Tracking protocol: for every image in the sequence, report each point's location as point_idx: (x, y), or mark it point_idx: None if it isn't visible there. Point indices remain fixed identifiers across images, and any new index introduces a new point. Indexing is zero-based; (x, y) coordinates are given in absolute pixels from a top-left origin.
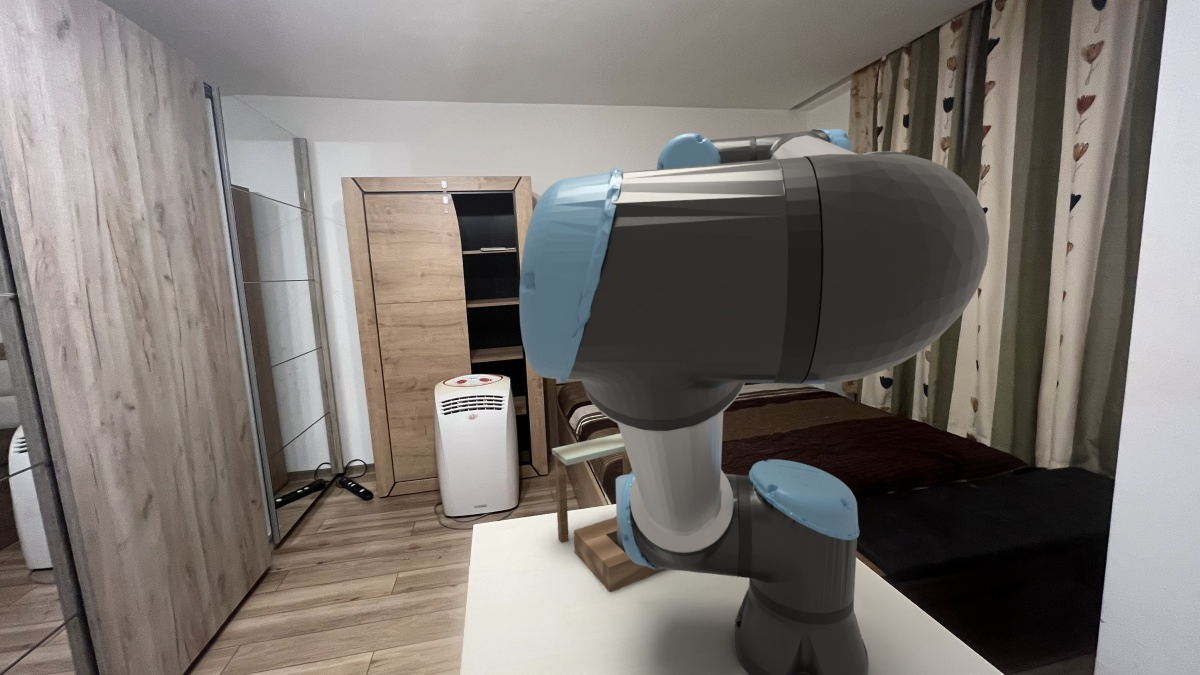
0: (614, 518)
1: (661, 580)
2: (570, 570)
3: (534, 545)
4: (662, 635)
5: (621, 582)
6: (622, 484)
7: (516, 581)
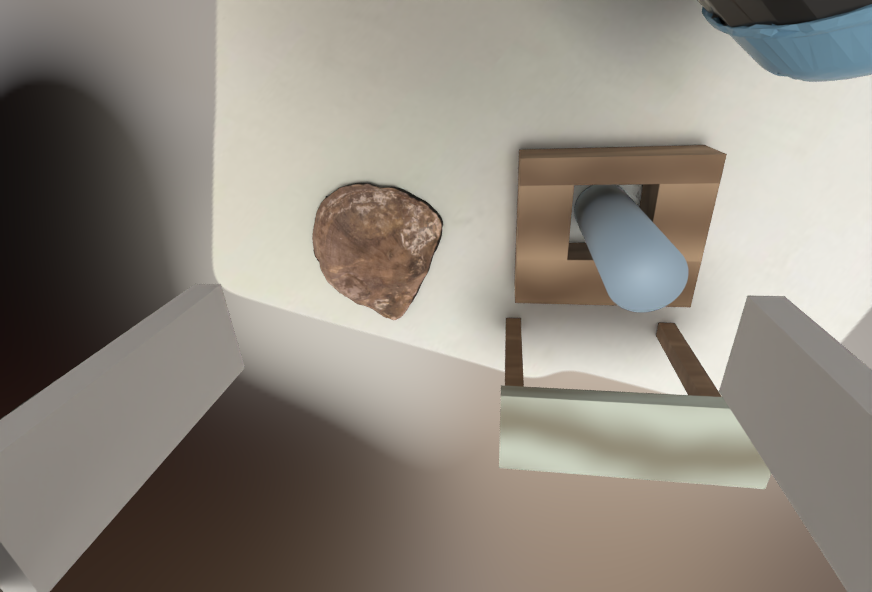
0: (588, 301)
1: (595, 123)
2: (718, 241)
3: (721, 341)
4: None
5: (679, 147)
6: (681, 266)
7: (822, 265)
